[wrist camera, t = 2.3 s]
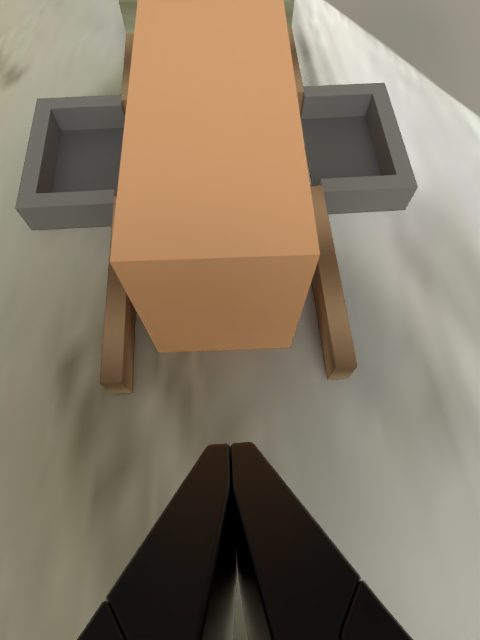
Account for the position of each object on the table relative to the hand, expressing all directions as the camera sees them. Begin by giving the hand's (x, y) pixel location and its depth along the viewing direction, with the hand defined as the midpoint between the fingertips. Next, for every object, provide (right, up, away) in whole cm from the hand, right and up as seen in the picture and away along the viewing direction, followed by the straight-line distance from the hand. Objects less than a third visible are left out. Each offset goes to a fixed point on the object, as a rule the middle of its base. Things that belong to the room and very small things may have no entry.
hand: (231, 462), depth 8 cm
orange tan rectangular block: (-1, +8, +17) cm, 19 cm away
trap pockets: (-1, +13, +19) cm, 23 cm away
